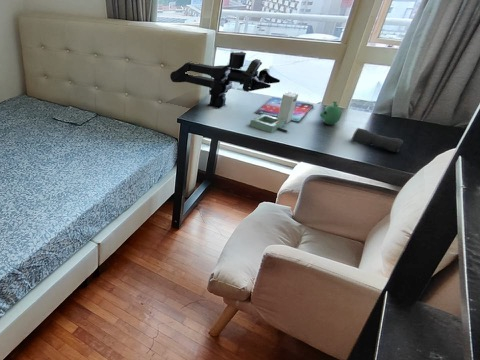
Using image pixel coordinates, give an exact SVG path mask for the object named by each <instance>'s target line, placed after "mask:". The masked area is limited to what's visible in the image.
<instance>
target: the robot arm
mask: <svg viewBox="0 0 480 360" xmlns="http://www.w3.org/2000/svg"><path fill="white" fill-rule="evenodd" d="M246 58H247V53H246V52H244V51H237V52H234V51H232V52H230V54H229V63H228V64H226V65H209V64H203V63H199V64H194V63H195V62H194V63H190V62H191V61H187V62H185V63H184V64H183V65H182V66H180V67H179V68H178V69H176V70H174V71H172V72H171V73H170V75H169V77H170V80H171V82H172V83H189V84H193V85H197V86H201V87H204V88H205V87H206V88H209V90H208V91H209V95H210V97H209V103H207V106H208V107H213V108H215V109H221V108H223V107H225V106H226V102H227V93H228V92H229V91H230V90H231V89H232V88H233V83H238V84H239V86H242V91H243V92H246V93H248V92H252V91H253V92H254V91H258V90H264V89H269V88H271V87H272V86H271V84H278V83H279V84H280V82H281V79H280V78H278V77H275V76H274V75H272V74H271V72H270V69H269V68H263V69H261V70H260V71H259V68H260V67H261V66H262V65H263V62H262V59H258V58H255V59H252V60H251V61H250V63H249V65H248V67H247V68H246V70H243V69H242V68H243V67H245V63H246V62H245V61H246ZM187 71H190V72H193V73H197V74H202V75H207V76H210V77H207V76H202V75H198V76H193V75H188V74H185V72H187Z"/></svg>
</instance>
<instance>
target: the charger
mask: <svg viewBox="0 0 480 360" xmlns="http://www.w3.org/2000/svg"><path fill="white" fill-rule="evenodd" d="M281 97H282V98H281V99H282V101H281V105H280V109H279V113H278V118H279V119H282V120H285V122H284V124H287V123H289V122H292V121H291V119H292V116H293V112H294V108H295V105H296V101H297V100H298V97H299V93H295V92H291V91H287V92H285V93H283V94H282V96H281ZM297 102H298V101H297Z"/></svg>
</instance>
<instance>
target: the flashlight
mask: <svg viewBox="0 0 480 360" xmlns="http://www.w3.org/2000/svg"><path fill="white" fill-rule="evenodd" d="M351 142H354V143H358V144H364V145H368V146H370V145H372V146H374V147H379V148H380V149H384V150H387V151H388V152H391V153H398V152H399V151H400V150H401V149H402V147H403V143H404V140H402V139H401V138H397V137H389V136H384V135H380V134H376V132H373V131H369V130H367V129H364V128H360V127H357V128H356V129H355V130H354V133H353V134H352V136H351Z"/></svg>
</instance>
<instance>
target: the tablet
mask: <svg viewBox="0 0 480 360" xmlns="http://www.w3.org/2000/svg"><path fill="white" fill-rule="evenodd" d="M281 101H282V98H280V97H275V96H273V97H271V98H270V99H269V100H268V101H266V102H265V103H264V104H263V105H262V106H261V107H260V108H258V110H256V111H255V114H257V115H262V114H265V115H269V116H272V117H276V118H278V113H279V109H280V105H281ZM313 107H314V104H312V103H307V102H302V101H296V105H295V108H294V112H293V116H292V119H291V121H290V122H293V123H300V122H301V121H302V120H303V119H304V118H305V116H306V115H307V114H308V113H309V112H310V111H311V109H313Z"/></svg>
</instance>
